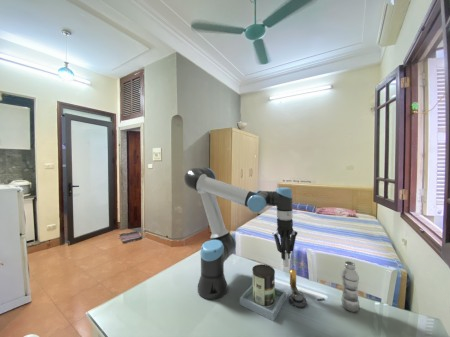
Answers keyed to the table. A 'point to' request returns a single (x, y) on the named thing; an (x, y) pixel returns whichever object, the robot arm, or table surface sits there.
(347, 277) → the plastic bottle
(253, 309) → the tray
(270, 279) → the coffee can
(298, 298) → the crank
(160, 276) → the table surface
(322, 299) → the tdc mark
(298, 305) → the crank base
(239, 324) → the table surface
